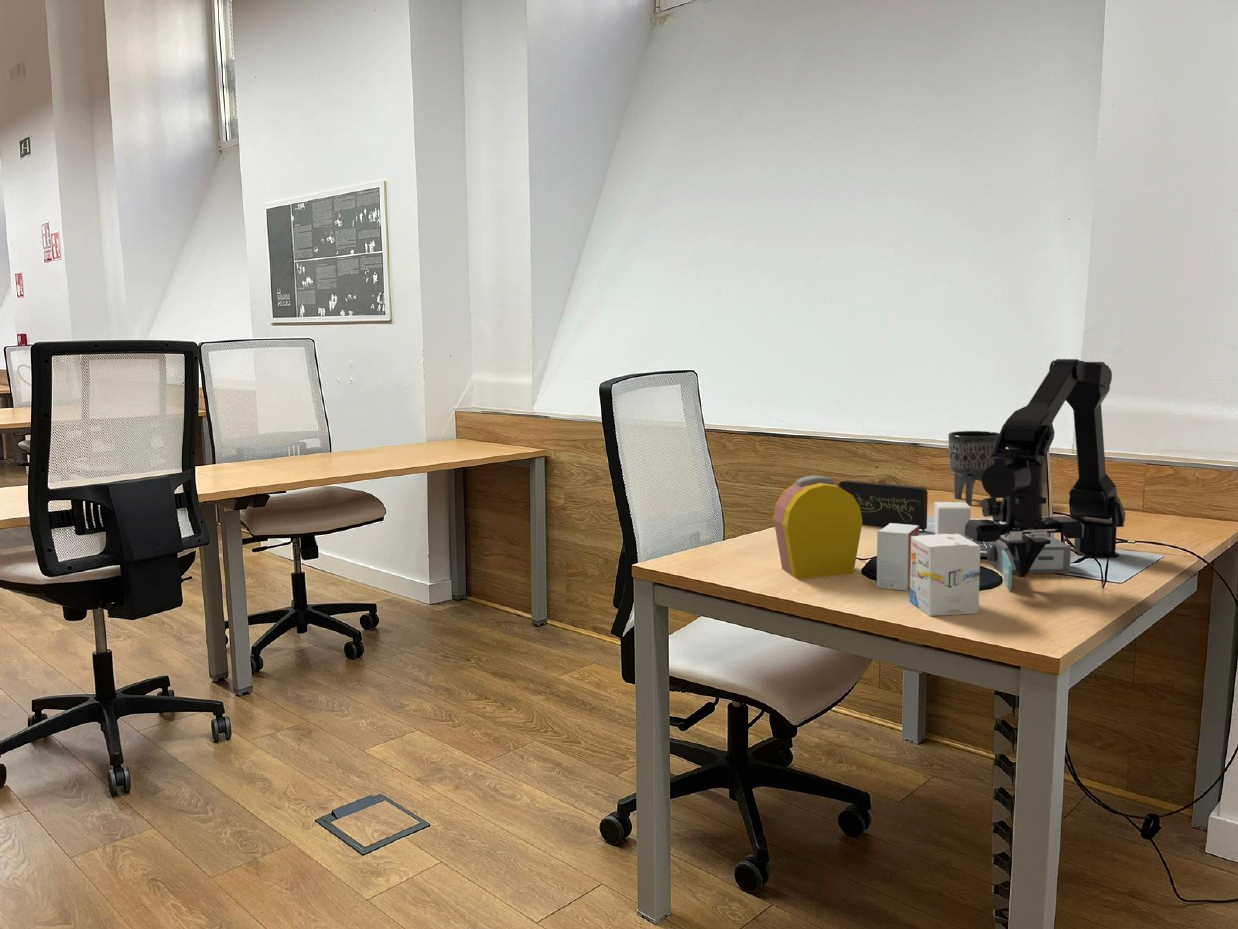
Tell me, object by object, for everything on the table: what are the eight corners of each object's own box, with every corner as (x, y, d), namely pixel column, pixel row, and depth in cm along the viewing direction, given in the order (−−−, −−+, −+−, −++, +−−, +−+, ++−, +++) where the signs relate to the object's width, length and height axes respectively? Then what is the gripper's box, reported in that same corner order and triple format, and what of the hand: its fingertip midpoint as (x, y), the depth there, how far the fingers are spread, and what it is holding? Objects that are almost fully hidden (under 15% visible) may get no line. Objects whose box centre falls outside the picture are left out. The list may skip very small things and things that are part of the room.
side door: (998, 573, 172) (999, 550, 171) (1005, 573, 172) (1006, 550, 171) (1004, 590, 161) (1004, 565, 160) (1012, 590, 161) (1013, 566, 160)
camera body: (1051, 562, 179) (1053, 533, 179) (1069, 573, 171) (1071, 543, 170) (983, 563, 180) (984, 535, 179) (998, 574, 172) (999, 544, 171)
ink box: (908, 601, 157) (909, 534, 155) (956, 599, 158) (957, 532, 156) (929, 617, 149) (930, 546, 147) (979, 614, 149) (982, 543, 148)
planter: (994, 507, 231) (996, 437, 229) (941, 503, 238) (942, 435, 236) (1004, 499, 242) (1006, 432, 240) (953, 495, 249) (955, 430, 247)
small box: (907, 592, 162) (908, 533, 161) (875, 588, 165) (876, 530, 164) (919, 581, 169) (920, 524, 168) (888, 577, 172) (889, 522, 171)
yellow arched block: (844, 563, 183) (844, 471, 180) (861, 573, 175) (863, 478, 172) (772, 568, 181) (772, 476, 178) (787, 579, 173) (786, 482, 170)
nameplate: (926, 531, 209) (927, 487, 207) (923, 533, 207) (924, 489, 206) (842, 520, 222) (842, 479, 221) (838, 522, 221) (838, 481, 219)
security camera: (969, 556, 185) (971, 507, 184) (933, 555, 187) (934, 507, 185) (964, 548, 192) (965, 501, 190) (929, 548, 193) (930, 501, 191)
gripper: (1054, 479, 168) (1051, 563, 171) (953, 483, 168) (951, 567, 170) (1087, 490, 157) (1083, 579, 160) (979, 494, 157) (977, 583, 159)
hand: (1021, 576), depth 162 cm, fingers closed
